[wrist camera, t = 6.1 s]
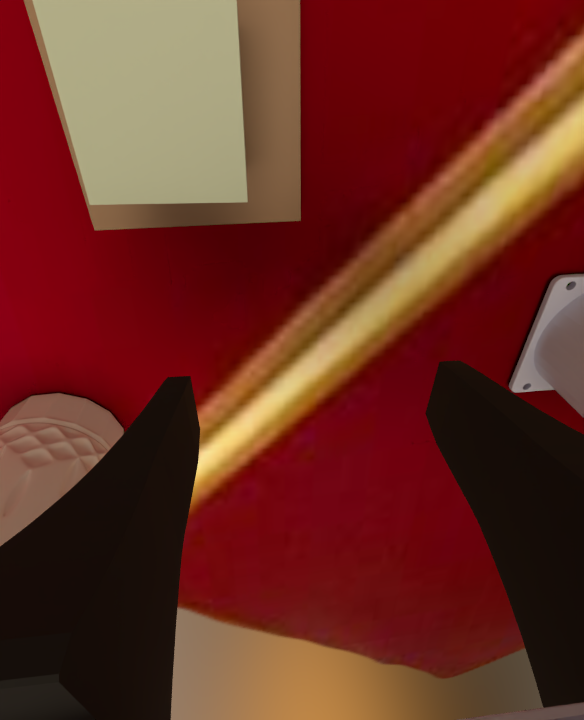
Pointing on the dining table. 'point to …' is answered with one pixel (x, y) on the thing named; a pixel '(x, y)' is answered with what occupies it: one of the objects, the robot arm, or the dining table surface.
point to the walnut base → (261, 126)
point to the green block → (150, 97)
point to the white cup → (48, 453)
